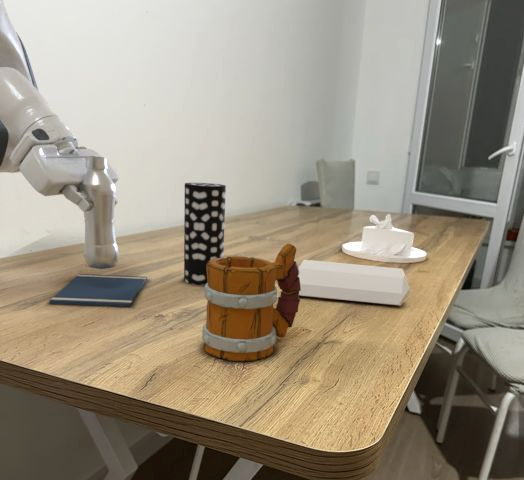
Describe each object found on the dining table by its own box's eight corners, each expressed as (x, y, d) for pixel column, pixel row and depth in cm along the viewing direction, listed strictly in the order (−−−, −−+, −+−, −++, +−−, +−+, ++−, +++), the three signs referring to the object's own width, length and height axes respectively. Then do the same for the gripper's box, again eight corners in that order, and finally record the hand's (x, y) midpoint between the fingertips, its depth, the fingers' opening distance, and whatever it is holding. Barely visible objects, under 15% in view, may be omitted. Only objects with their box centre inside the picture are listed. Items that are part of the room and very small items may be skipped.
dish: (325, 249, 156) (329, 211, 151) (374, 243, 172) (379, 208, 167) (393, 266, 139) (400, 223, 135) (441, 257, 155) (449, 219, 151)
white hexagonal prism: (408, 279, 108) (294, 268, 111) (414, 268, 101) (292, 257, 104) (405, 313, 107) (290, 301, 110) (411, 305, 100) (288, 293, 103)
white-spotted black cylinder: (229, 283, 112) (233, 186, 104) (195, 287, 107) (197, 186, 100) (210, 274, 118) (212, 182, 110) (177, 278, 113) (177, 182, 106)
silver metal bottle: (81, 271, 96) (73, 156, 88) (87, 263, 102) (80, 155, 94) (117, 272, 97) (112, 159, 89) (121, 264, 103) (116, 157, 95)
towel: (49, 304, 91) (49, 300, 91) (79, 276, 109) (79, 273, 109) (130, 307, 92) (130, 303, 92) (146, 279, 110) (146, 276, 110)
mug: (186, 342, 77) (187, 242, 72) (274, 327, 86) (281, 236, 81) (223, 368, 69) (227, 257, 64) (316, 348, 78) (327, 249, 73)
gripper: (79, 158, 105) (123, 212, 105) (1, 159, 86) (55, 225, 87) (96, 136, 102) (141, 192, 103) (20, 132, 84) (75, 200, 84)
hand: (101, 207), depth 95 cm, fingers closed on silver metal bottle, 6 cm apart
